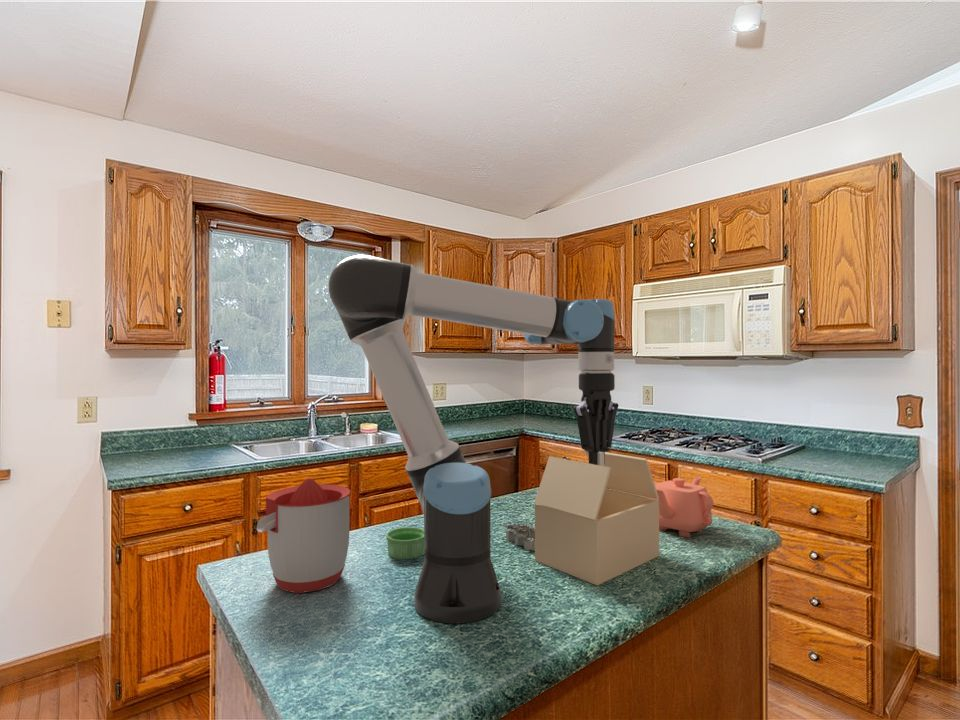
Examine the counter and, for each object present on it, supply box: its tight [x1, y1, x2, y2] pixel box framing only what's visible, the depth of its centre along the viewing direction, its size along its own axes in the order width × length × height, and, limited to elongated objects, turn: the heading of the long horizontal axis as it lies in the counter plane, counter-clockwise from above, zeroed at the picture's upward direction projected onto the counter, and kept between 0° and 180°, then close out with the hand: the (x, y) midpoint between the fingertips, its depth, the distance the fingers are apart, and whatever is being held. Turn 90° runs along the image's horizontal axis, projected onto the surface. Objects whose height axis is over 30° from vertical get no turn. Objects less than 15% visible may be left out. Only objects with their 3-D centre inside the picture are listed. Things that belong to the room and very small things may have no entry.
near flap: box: [533, 455, 611, 520], centre depth 104 cm, size 10×16×1 cm
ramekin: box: [385, 526, 425, 560], centre depth 114 cm, size 9×9×4 cm
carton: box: [534, 488, 660, 586], centre depth 110 cm, size 22×16×12 cm
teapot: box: [649, 476, 714, 538], centre depth 129 cm, size 15×17×13 cm
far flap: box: [585, 451, 659, 500], centre depth 116 cm, size 10×16×1 cm
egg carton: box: [503, 522, 535, 551], centre depth 120 cm, size 11×8×4 cm
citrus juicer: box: [256, 477, 351, 594], centre depth 99 cm, size 16×17×20 cm
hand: (596, 482), depth 110 cm, fingers closed
